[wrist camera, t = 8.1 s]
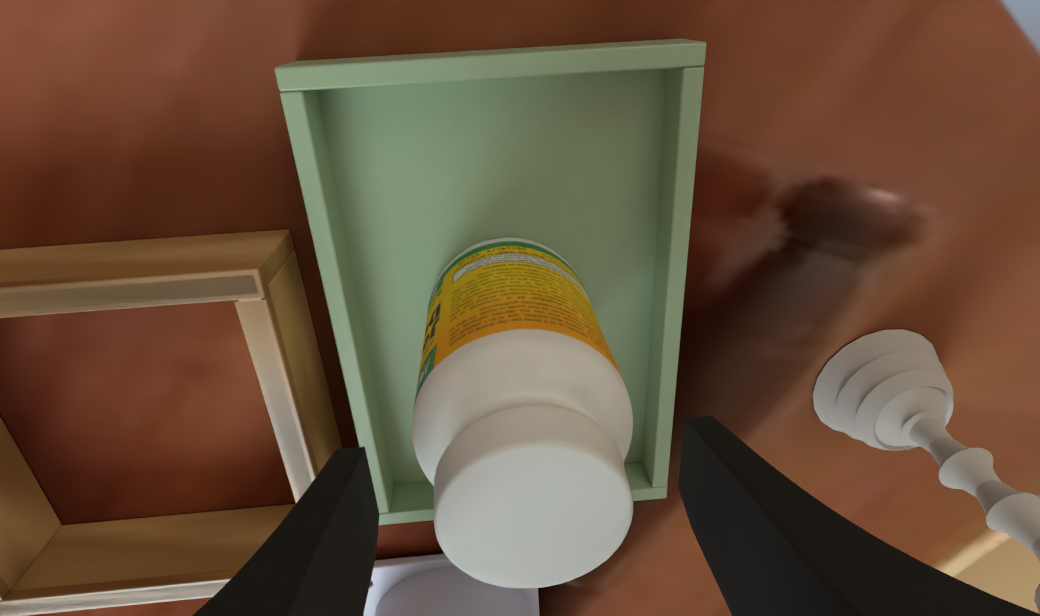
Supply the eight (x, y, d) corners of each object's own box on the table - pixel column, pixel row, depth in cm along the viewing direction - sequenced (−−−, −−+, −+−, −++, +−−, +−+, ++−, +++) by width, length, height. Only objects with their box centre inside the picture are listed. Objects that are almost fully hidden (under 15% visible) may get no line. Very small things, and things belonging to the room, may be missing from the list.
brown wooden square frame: (361, 511, 25) (345, 584, 21) (50, 540, 24) (-12, 620, 21) (292, 225, 19) (258, 268, 16) (-120, 254, 18) (-241, 305, 15)
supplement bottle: (589, 360, 21) (669, 594, 13) (443, 381, 21) (427, 630, 13) (578, 220, 19) (669, 395, 10) (413, 243, 19) (367, 439, 10)
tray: (652, 462, 25) (666, 498, 23) (383, 487, 24) (376, 525, 22) (683, 38, 17) (707, 41, 15) (293, 60, 17) (272, 67, 15)
